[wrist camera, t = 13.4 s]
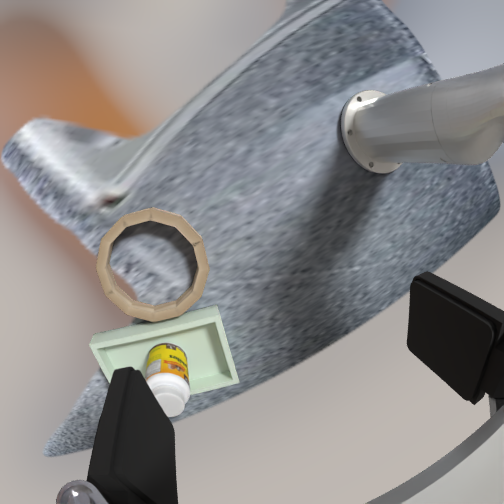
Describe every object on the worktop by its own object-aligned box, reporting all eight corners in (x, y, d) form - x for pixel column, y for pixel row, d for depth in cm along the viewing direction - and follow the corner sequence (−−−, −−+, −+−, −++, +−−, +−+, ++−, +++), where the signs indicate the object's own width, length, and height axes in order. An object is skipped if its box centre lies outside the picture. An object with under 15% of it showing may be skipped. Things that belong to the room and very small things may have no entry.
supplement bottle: (194, 360, 38) (201, 410, 29) (164, 377, 38) (164, 427, 28) (171, 332, 37) (171, 380, 27) (139, 351, 36) (132, 400, 27)
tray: (216, 304, 38) (220, 314, 35) (235, 370, 41) (239, 382, 38) (94, 333, 35) (89, 344, 32) (125, 394, 38) (123, 407, 35)
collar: (192, 197, 34) (192, 198, 32) (216, 298, 38) (219, 305, 35) (89, 225, 31) (83, 228, 29) (121, 322, 35) (119, 330, 33)
